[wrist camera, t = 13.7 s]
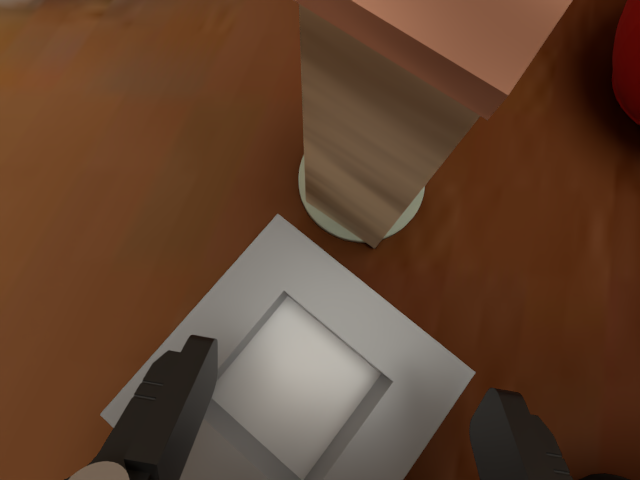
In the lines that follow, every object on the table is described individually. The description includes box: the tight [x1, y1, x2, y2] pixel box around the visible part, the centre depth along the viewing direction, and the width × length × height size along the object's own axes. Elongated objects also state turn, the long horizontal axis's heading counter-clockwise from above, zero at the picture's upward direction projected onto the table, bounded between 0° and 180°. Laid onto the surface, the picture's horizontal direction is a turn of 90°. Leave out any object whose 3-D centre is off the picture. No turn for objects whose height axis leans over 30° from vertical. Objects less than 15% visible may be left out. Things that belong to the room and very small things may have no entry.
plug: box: [294, 0, 572, 249], centre depth 14 cm, size 5×5×14 cm
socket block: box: [100, 214, 476, 480], centre depth 17 cm, size 11×11×3 cm
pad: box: [298, 156, 425, 243], centre depth 21 cm, size 7×7×1 cm
